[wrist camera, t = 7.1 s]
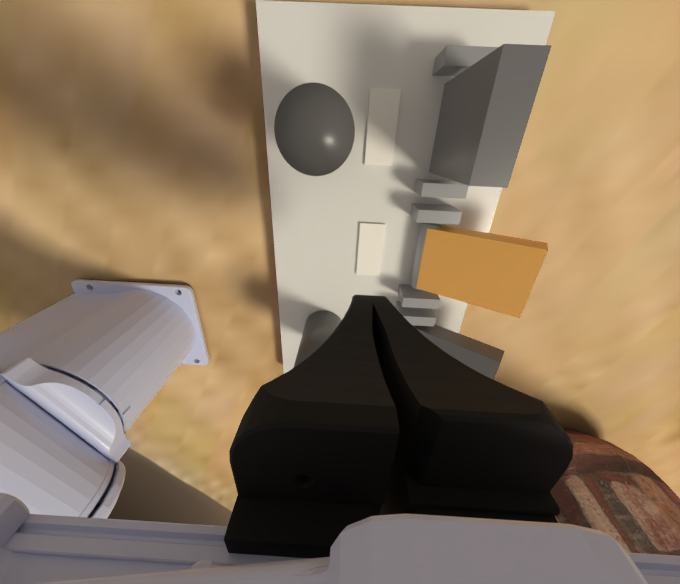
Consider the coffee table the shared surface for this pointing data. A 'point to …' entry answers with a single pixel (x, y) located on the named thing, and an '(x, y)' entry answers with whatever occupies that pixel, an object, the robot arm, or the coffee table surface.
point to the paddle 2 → (464, 349)
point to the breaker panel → (366, 151)
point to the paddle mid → (477, 267)
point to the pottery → (618, 497)
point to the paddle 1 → (487, 116)
